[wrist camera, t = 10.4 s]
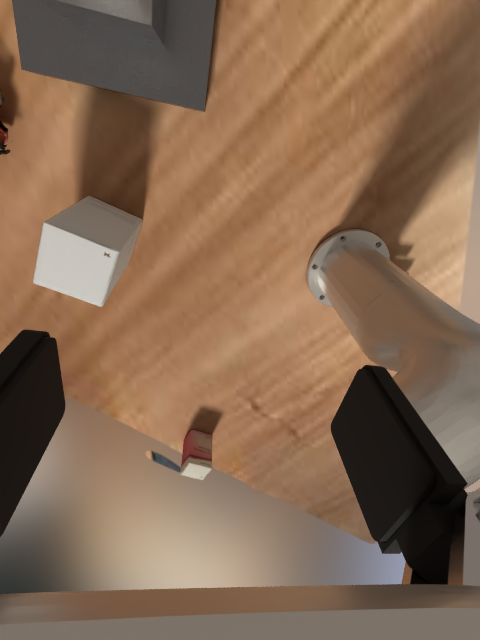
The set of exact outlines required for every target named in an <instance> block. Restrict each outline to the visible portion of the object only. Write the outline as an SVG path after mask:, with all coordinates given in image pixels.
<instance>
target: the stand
mask: <svg viewBox="0 0 480 640" xmlns="http://www.w3.org/2000/svg"><path fill="white" fill-rule="evenodd" d="M12 2H13V10H14V17H15V24H16V32H17V39H18V46H19V53H20V61H21V68H22V70H26V71H29V72H33V73H36V74H40V75H45V76H49V77H53V78H58V79H62V80H67V81H71V82H75V83H80V84H84V85H89V86H93V87H97V88H102V89H106V90H111V91H115V92H119V93H124V94H128V95H133V96H137V97H141V98H146V99H150V100H154V101H159V102H163V103H168V104H172V105H176V106H181V107H185V108H190V109H194V110H198V111H203V112H205V105H206V95H207V86H208V77H209V68H210V59H211V49H212V40H213V31H214V22H215V13H216V3H217V0H12Z"/></svg>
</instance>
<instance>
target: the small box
mask: <svg viewBox="0 0 480 640" xmlns="http://www.w3.org/2000/svg"><path fill="white" fill-rule="evenodd" d="M211 469H212V435H210V434H206V433H203V432H199V431H196V430H191V431H190V432H189V434H188V435H187V437H186V438H185V440H184V444H183V455H182V464H181V473H180V474H181V475H183V476H187V477H191V478H196V479H201V480H204V479H205V477H206V476H207V475H208V473H209V472H210V471H211Z"/></svg>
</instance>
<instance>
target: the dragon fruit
mask: <svg viewBox="0 0 480 640" xmlns="http://www.w3.org/2000/svg"><path fill="white" fill-rule="evenodd" d="M4 100H5V97H4V95H3V94H2V92H1V91H0V105H1V104H2V103H3V101H4ZM0 107H2V106H0ZM7 140H8V129H7V128H6V127H5V126H4V125H3V123H2V121H1V120H0V149H2V150H0V155H1V154H8V153H9V152H10V150H5V147H6V146H7V145H4V143H6V142H7ZM10 143H11V142H10Z"/></svg>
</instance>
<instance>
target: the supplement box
mask: <svg viewBox="0 0 480 640" xmlns="http://www.w3.org/2000/svg"><path fill="white" fill-rule="evenodd" d="M142 222H143V220H142V219H140V218H138V217H136V216H134V215H131V214H129V213H127V212H125V211H123V210H120V209H118V208H116V207H114V206H111V205H109V204H107V203H105V202H103V201H100V200H98V199H96V198H93V197H91V196H87V197H85V198H84V199H82V200H80V201H78V202H77V203H75V204H74V205H72V206H70V207H69V208H67V209H65V210H64V211H62V212H60V213H59V214H57V215H55V216H54V217H52V218H50V219H49V220H47V221H45V222H44V223H43V228H42V234H41V239H40V245H39V250H38V256H37V262H36V268H35V274H34V280H33V283H35V284H38V285H41V286H43V287H46V288H49V289H52V290H55V291H58V292H61V293H63V294H66V295H69V296H72V297H75V298H78V299H80V300H83V301H86V302H88V303H91V304H94V305H97V306H99V307H102V306H103V304H104V303H105V301H106V300H107V298H108V296H109V295H110V293H111V291H112V290H113V288H114V286H115V285H116V283H117V281H118V280H119V278H120V276H121V275H122V273H123V271H124V270H125V268H126V267H127V265H128V263H129V260H130V258H131V255H132V252H133V249H134V246H135V243H136V240H137V237H138V234H139V231H140V228H141V225H142Z"/></svg>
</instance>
